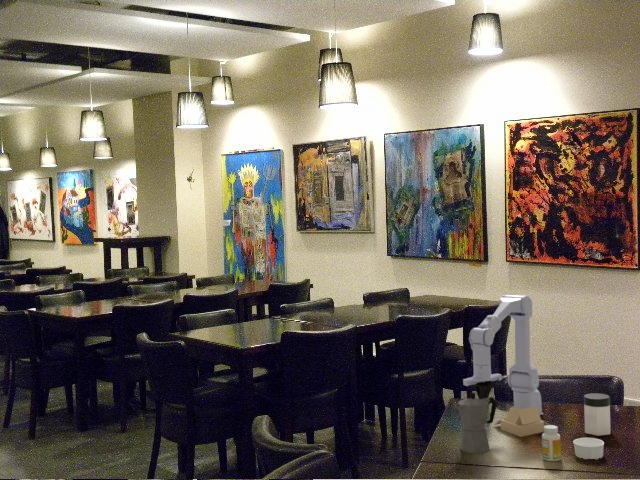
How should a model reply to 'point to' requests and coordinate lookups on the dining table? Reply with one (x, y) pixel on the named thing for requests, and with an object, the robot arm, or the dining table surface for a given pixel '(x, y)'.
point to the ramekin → (588, 448)
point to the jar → (597, 414)
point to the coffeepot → (475, 423)
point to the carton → (522, 427)
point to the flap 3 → (529, 415)
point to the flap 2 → (513, 415)
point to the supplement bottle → (551, 443)
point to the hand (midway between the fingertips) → (483, 404)
